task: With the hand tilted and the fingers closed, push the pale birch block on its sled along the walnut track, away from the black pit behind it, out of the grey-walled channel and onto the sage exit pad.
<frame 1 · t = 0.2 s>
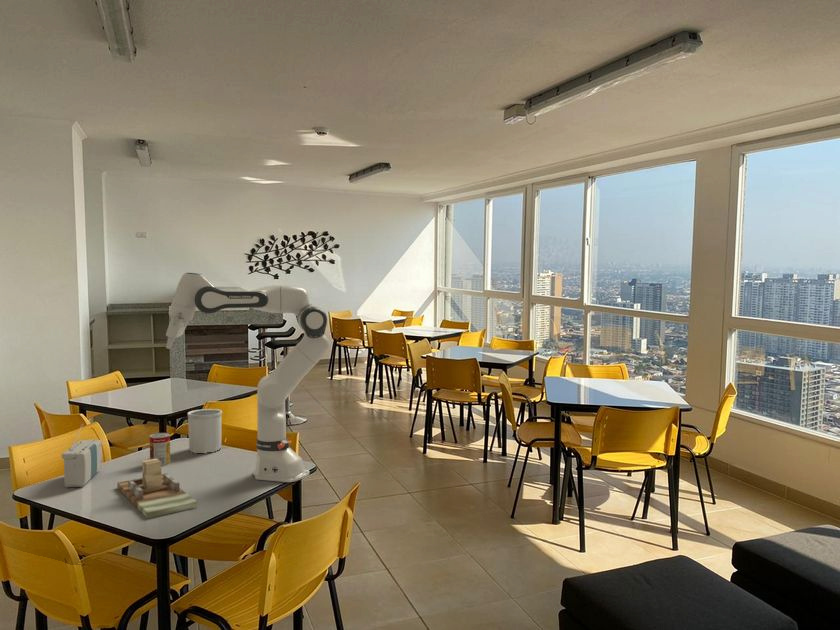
hand: (170, 347, 230), 52 cm above the table, tool tilted 15°, fingers open, 8 cm apart
track: (155, 497, 215), on the table
canned food: (160, 463, 254), on the table
utensil holder: (205, 450, 275), on the table
sled: (151, 474, 217), point 7 cm above the table, slide at 0.0 cm
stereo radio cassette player: (83, 480, 232), on the table
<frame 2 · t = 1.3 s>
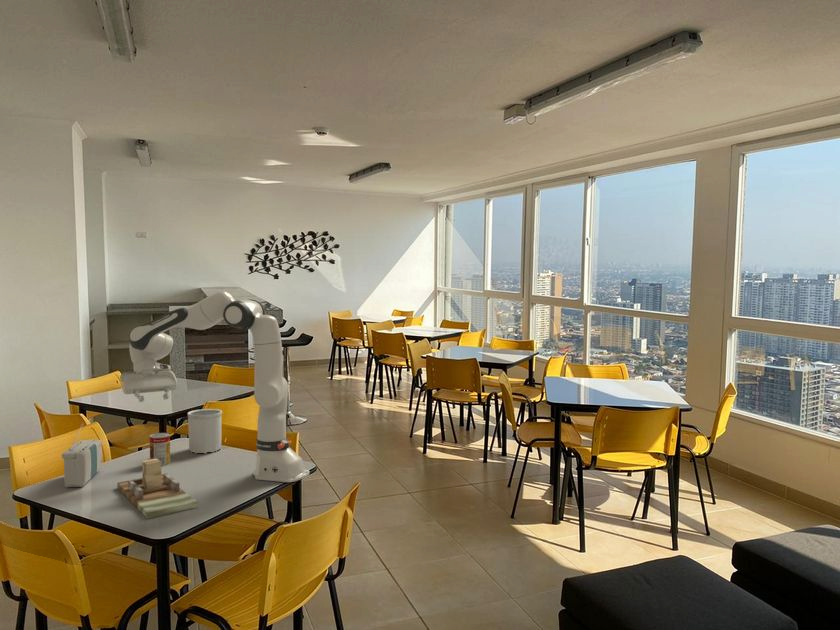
hand: (154, 399, 237), 30 cm above the table, tool tilted 45°, fingers open, 8 cm apart
nothing on the table moved.
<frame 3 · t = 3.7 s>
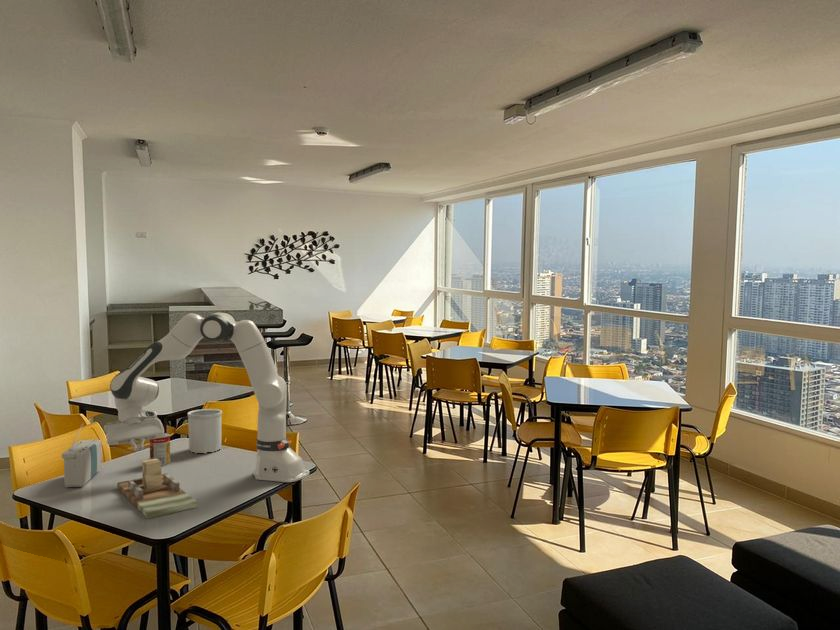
hand: (139, 449, 229), 13 cm above the table, tool tilted 45°, fingers closed
nothing on the table moved.
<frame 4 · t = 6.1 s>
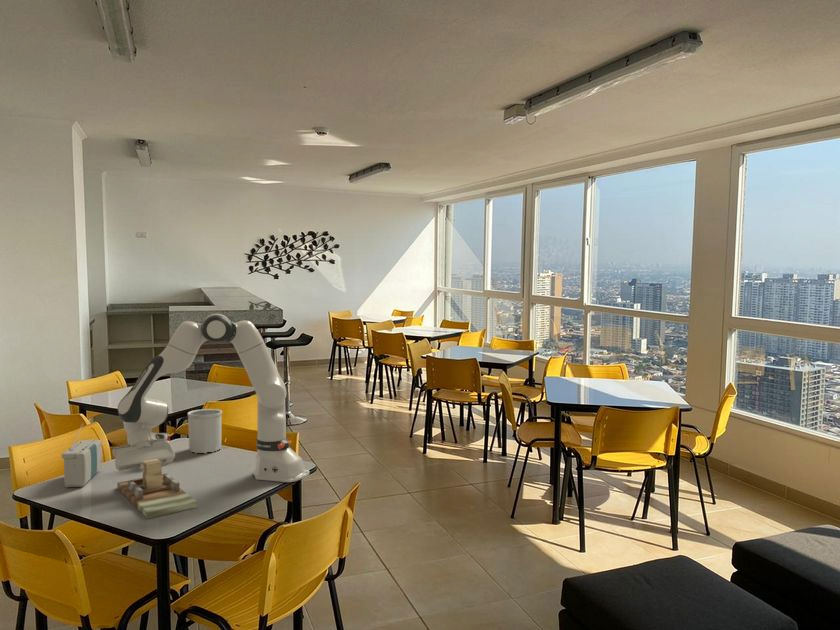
hand: (149, 475, 219), 6 cm above the table, tool tilted 45°, fingers closed, pressing on sled
sled: (152, 475, 217), point 7 cm above the table, slide at 0.4 cm, touching gripper
everything else where it was.
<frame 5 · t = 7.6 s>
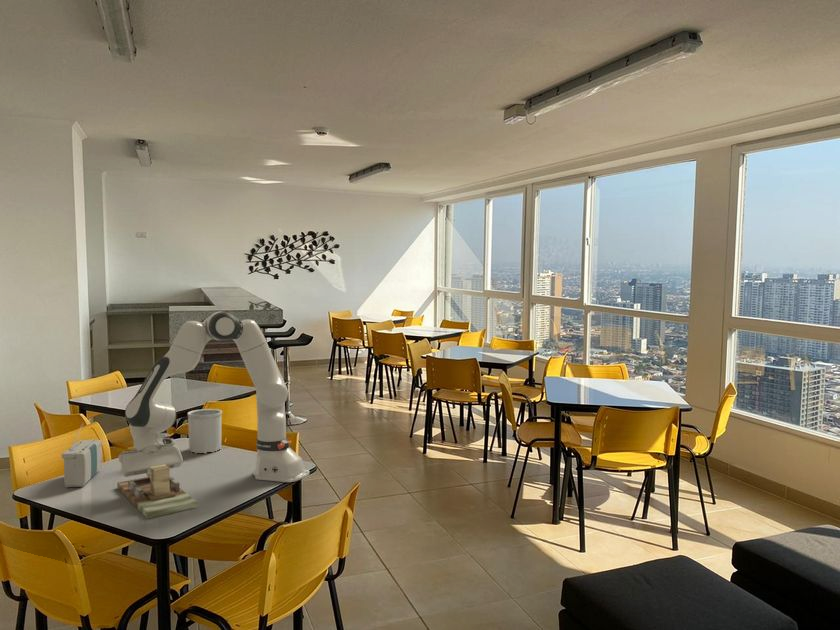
hand: (157, 481, 213), 6 cm above the table, tool tilted 45°, fingers closed, pressing on sled
sled: (159, 481, 210), point 7 cm above the table, slide at 9.0 cm, touching gripper
everything else where it was.
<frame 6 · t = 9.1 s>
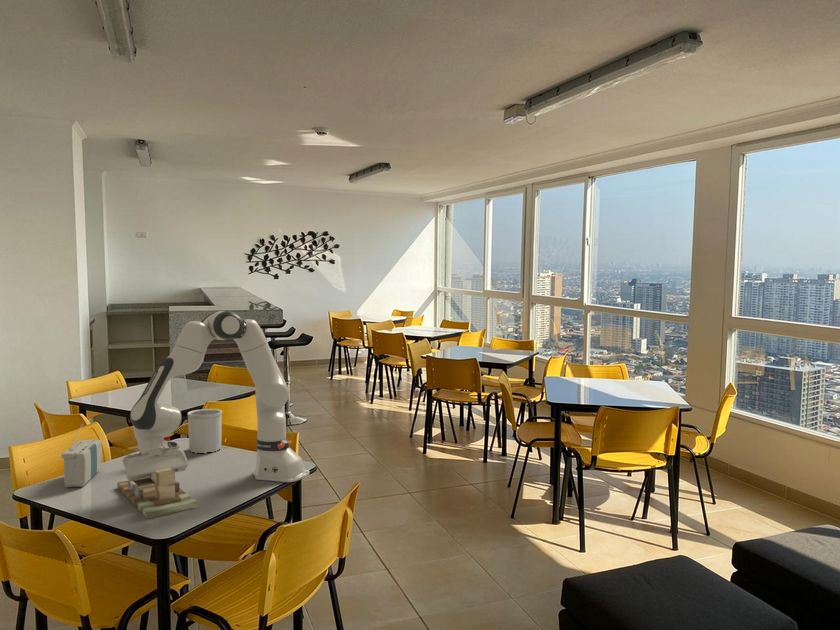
hand: (162, 485, 209), 6 cm above the table, tool tilted 45°, fingers closed, pressing on sled
sled: (165, 485, 206), point 7 cm above the table, slide at 14.6 cm, touching gripper
everything else where it was.
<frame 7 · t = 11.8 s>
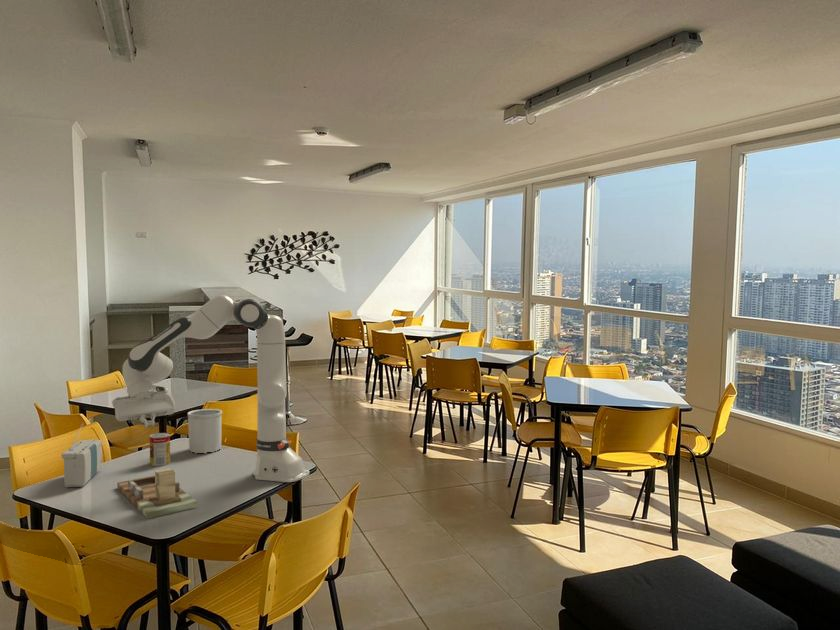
hand: (150, 425, 217), 25 cm above the table, tool tilted 45°, fingers closed
sled: (165, 485, 206), point 7 cm above the table, slide at 14.7 cm
everything else where it was.
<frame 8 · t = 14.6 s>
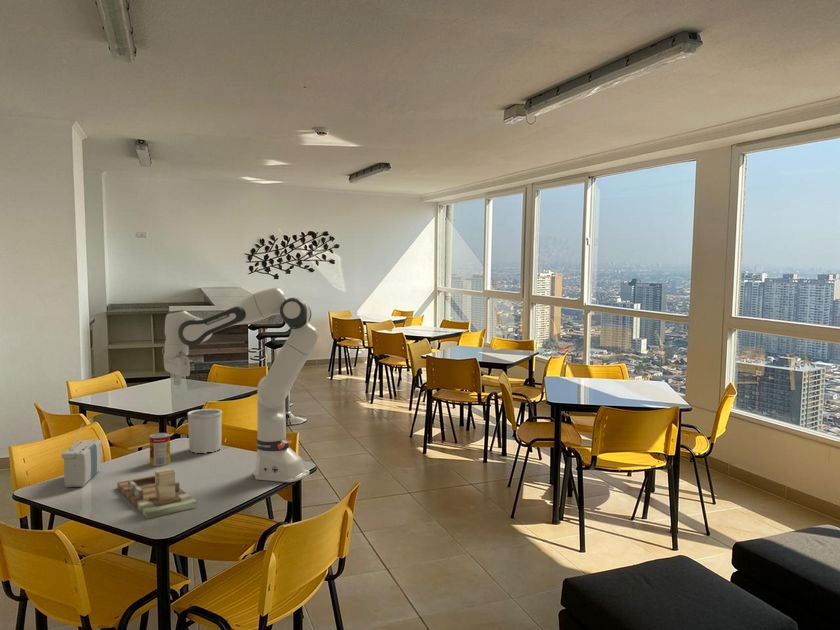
hand: (177, 384, 243), 35 cm above the table, tool pointing down, fingers closed
nothing on the table moved.
at the end: sled slide at 14.7 cm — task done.
